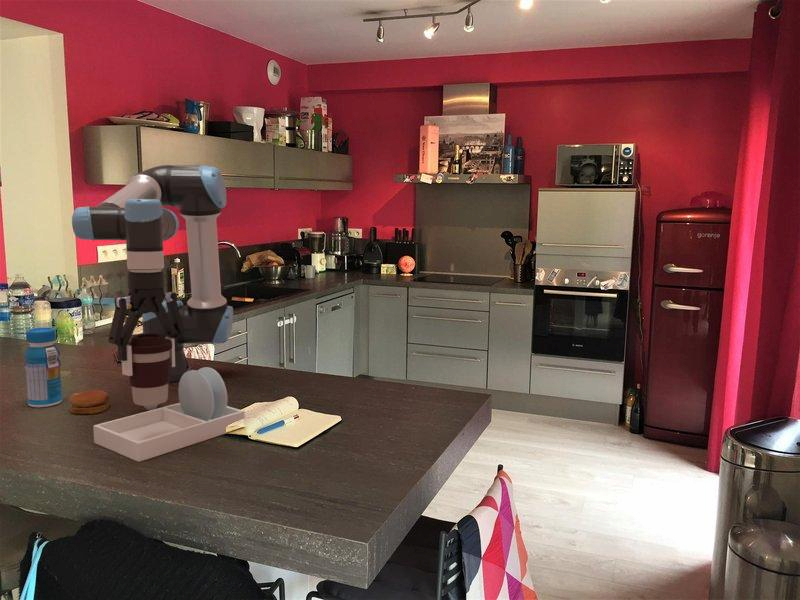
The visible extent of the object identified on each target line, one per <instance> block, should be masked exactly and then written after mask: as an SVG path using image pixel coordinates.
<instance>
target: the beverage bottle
mask: <svg viewBox="0 0 800 600" xmlns="http://www.w3.org/2000/svg"><path fill="white" fill-rule="evenodd" d="M56 335H57V334H56V329H55V328H54V327H47V326H46V327H35V328H28V329H27V330H26V332H25V336H26V337H25V339H26V343H27V344H29V345H28V346H27V347H26V350H25V352H24V355H23V356H24V359H25V363H24V370H25V381H26V383H25V384H26V395H27V396H26V397H27V400H26V402H27V405H28V406H29V407H32V408H46V407H47V408H48V407H52V406H57V405H58V404H61V403H62V401H63V391H62V373H61V372H62V371H61V370H62V369H61V366H62V363H61V360H60V355H61V354H60V350H59V348H58V347H57V345H56V344H55V343H54V342H56V338H57V337H56Z"/></svg>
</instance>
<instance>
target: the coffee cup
mask: <svg viewBox="0 0 800 600" xmlns="http://www.w3.org/2000/svg"><path fill="white" fill-rule="evenodd" d="M128 345H130V346H131V349H132V374H133V375H132V376H128V377H129V385H130V386H131V394H132V402H133V404H135V405H137V406H143V407H144V406H149V405H157V404H158V405H160V404H163V403H165V402H167V401H168V399H169V383H170V382H169V379H170V357H169V350H171V349H172V341H170V340H167V339H166V338H165V336H164V335H163V334H158V333H146V334H143V333H139V334H134V335H132V336H131V338H130V340H129V342H128Z"/></svg>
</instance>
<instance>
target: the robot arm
mask: <svg viewBox="0 0 800 600" xmlns="http://www.w3.org/2000/svg"><path fill="white" fill-rule="evenodd" d="M226 205H227V188H226V184H225V179H224V177H223V174H222V172H221V171H220V169H219V168H217V167H215V166H210V165H203V164H202V165H199V164H198V165H197V164H196V165H195V164H194V165H193V164H191V165H181V164H180V165H176V164H175V165H173V164H172V165H169V164H164V165H157V166H154V167H150V168H147V169H145V170H143V171H140V172H139V173H136V174H134V175H133V176H131V177H130V178H129V179H128V180H127V182H126V184H125V186H124V187H122V188H121V189H120V190H118V191H116V192H115V193H114V194H113V195H111V196H109V197H108V198H107V199H105V200H103V201H102V202H101V203H99V204H98V205H96V206H89V205H87V206H80V207H76V208H75V209H74V211H73V213H72V217H71V225H72V226H71V227H72V231H73V233H74V235H75V237H76V238H78V239H80V240H85V241H86V240H87V241H93V242H94V241H125V245H126V246H125V248H126V249H125V250H126V267H127V269H128V270H129V271H128V272H127V274H126V276H127V287H128V294H127V296H125V297H118V296H117V297H115V298H114V306H115V307H114V313H113V317H112V321H111V327H110V331H109V336H108V343H109V344H112V345H116V346H117V358H118V360H119V361H121V371H122V372H121V373H122V375H124V376H127V377H129V376H132V375H133V374H132V349H131V346H130V345H128V342H130V340H131V337H132V336H133V334H134V332H135V329H136V327H137V324H138V322H139V320H140V318H142V320H141V323H142V334H146V333H158V334H163V335H164V336H165V338H166V339H167V340H170V341H172V349H171V350H169V357H170V379H169V383H170V382H171V383H172V382H177V381H180V379H181V377H182V375H183V374H184V373H185V372H187V371H190V370H191V366H190V364H189V362H188V359H187V356H186V353H185V348H184V347H185V346H184V345H185V344H186V345H187V344H189V345H190V344H192V345H193V344H197V345H198V344H199V345H200V344H201V345H203V344H204V345H210V344H211V345H216V344H217V345H218V344H225V343H227V342H228V341H229V339H230V336H231V332H232V328H233V321H234V308H233V306H230V305H228V303H227V302H228V301H227V298H225V297H224V295H222V288H221V272H220V269H221V268H220V258H219V256H220V255H219V242H218V239H219V237H218V227H217V226H218V225H217V224H218V223H217V218H218V217H219V216H220V215H221V214H222V209H223V208H225V207H226ZM165 207H173V208H174V207H176V208H177V207H178V210H179V212H178V213H179V215H180V216H181V217H182V218H183V219H185V227H186V239H187V242H186V243H187V253H188V263H189V265H188V267H189V277H190V279H189V280H190V290H191V297H190V298H189V299H188V300H187V301H186V305H184V303H183V302H182V300H178V294H177V293H176V292H173V291H167V292H166V291H165V290H164V288H165V285H166V284H165V272H164V271H163V269H164V268H165V256H164V242H166V241H167V240H168V241H169V240H170V239H172V238H173V237H174V236H176V234H177V233H178V231H179V228H180V227H179V226H180V221H179V219H178V217H177V215H176V214H175V212H173V211H172V210H170V209H167V208H165ZM129 305H130V308H129V311H128V314H127V310H128V307H129ZM126 316H127V318H126ZM125 319H126V321H125Z"/></svg>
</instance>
